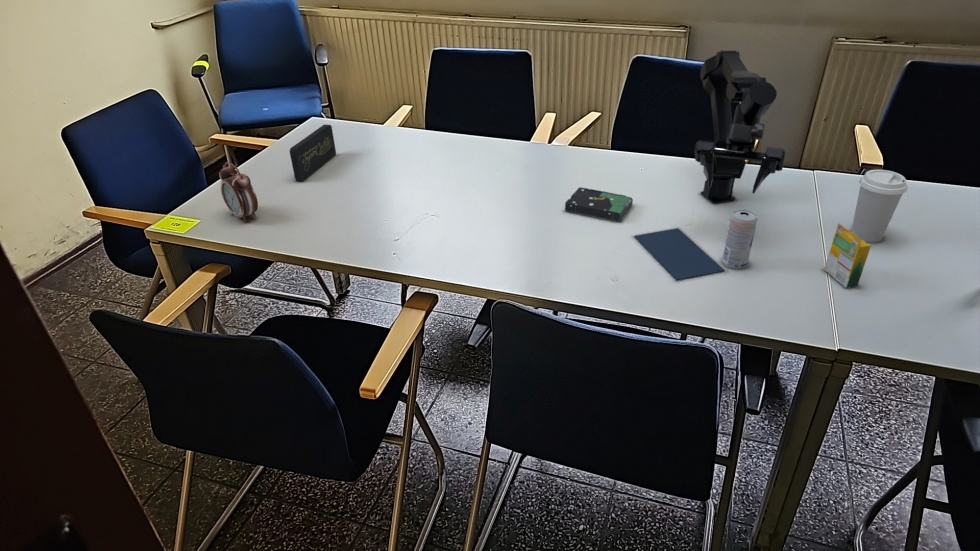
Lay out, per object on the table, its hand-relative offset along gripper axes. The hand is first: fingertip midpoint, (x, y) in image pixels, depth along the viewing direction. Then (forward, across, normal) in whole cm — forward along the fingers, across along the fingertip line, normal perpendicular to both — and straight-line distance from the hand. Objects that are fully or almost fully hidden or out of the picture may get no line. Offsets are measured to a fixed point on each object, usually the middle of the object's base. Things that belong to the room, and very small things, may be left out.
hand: (731, 189), depth 144 cm
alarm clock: (+31, -115, -13) cm, 120 cm away
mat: (+15, -9, +5) cm, 18 cm away
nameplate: (+6, -117, +8) cm, 118 cm away
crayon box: (+13, +25, +8) cm, 29 cm away
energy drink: (+15, +4, +6) cm, 16 cm away
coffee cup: (-3, +30, +22) cm, 37 cm away
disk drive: (+3, -32, +14) cm, 35 cm away
